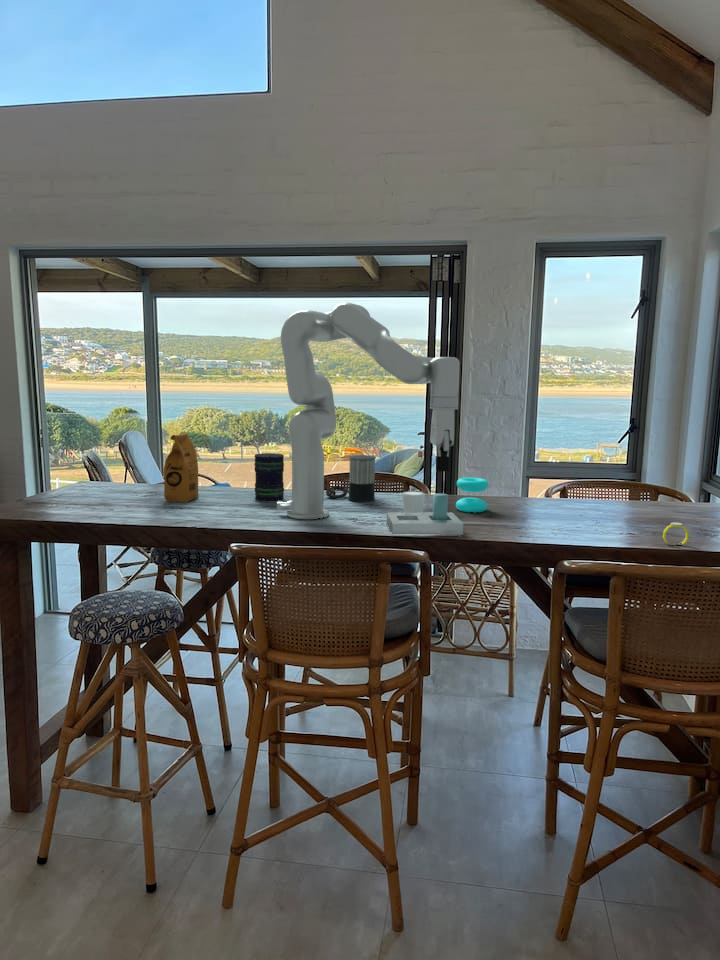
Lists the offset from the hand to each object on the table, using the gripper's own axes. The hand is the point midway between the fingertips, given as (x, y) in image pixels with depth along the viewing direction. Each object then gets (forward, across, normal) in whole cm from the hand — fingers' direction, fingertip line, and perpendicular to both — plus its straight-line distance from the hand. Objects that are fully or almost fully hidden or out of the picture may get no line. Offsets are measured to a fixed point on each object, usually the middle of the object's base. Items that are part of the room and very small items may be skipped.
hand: (441, 470), depth 184 cm
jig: (+17, 0, -5) cm, 17 cm away
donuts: (+17, -27, +15) cm, 35 cm away
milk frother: (+17, -46, -22) cm, 53 cm away
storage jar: (+17, -45, -50) cm, 69 cm away
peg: (+17, 0, 0) cm, 17 cm away
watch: (+17, +17, +58) cm, 63 cm away
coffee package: (+16, -44, -79) cm, 92 cm away
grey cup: (+17, -19, -5) cm, 26 cm away
